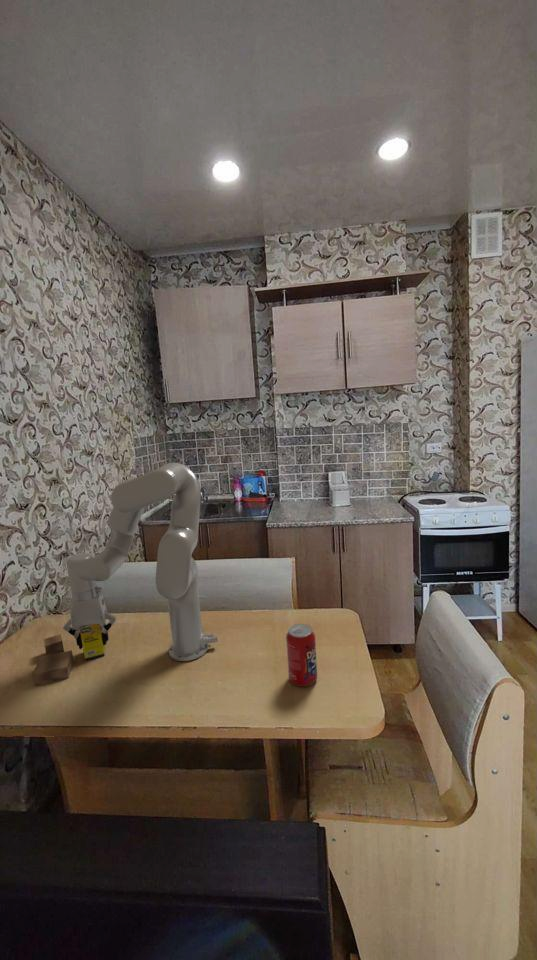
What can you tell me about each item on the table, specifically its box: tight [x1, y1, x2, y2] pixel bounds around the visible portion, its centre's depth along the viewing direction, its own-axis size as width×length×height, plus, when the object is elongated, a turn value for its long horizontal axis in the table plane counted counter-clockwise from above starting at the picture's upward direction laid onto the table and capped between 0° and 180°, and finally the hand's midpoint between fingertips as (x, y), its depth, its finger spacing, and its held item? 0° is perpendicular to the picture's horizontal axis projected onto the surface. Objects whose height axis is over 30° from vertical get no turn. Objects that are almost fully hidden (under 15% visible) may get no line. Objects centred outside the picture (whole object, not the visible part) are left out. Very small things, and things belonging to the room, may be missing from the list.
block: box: [43, 633, 65, 656], centre depth 136 cm, size 5×5×5 cm
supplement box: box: [80, 624, 106, 661], centre depth 134 cm, size 6×6×11 cm
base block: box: [32, 649, 74, 687], centre depth 126 cm, size 9×9×4 cm
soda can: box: [285, 623, 318, 687], centre depth 114 cm, size 8×8×15 cm
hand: (93, 644), depth 134 cm, fingers closed on supplement box, 6 cm apart
